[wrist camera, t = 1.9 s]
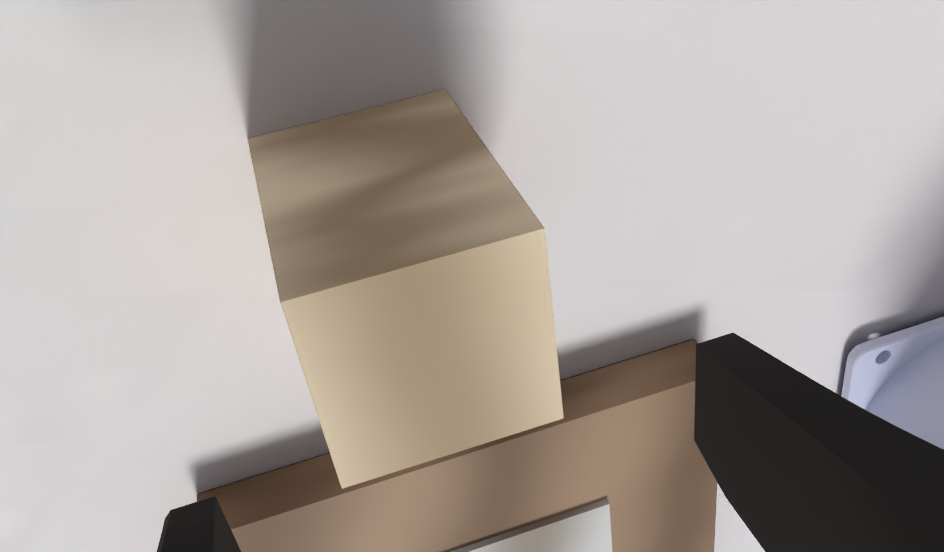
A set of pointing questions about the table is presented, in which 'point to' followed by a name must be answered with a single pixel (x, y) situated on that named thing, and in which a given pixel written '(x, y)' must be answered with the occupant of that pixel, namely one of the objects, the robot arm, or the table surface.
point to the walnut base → (515, 482)
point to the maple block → (408, 284)
